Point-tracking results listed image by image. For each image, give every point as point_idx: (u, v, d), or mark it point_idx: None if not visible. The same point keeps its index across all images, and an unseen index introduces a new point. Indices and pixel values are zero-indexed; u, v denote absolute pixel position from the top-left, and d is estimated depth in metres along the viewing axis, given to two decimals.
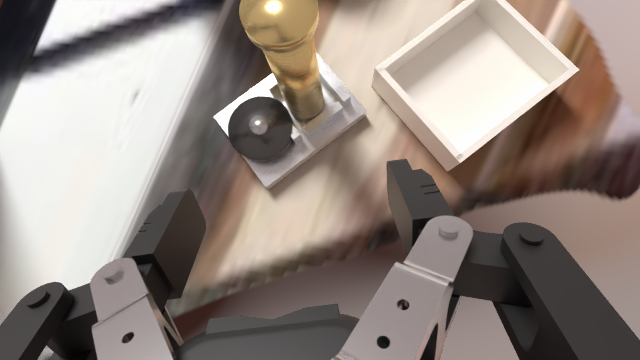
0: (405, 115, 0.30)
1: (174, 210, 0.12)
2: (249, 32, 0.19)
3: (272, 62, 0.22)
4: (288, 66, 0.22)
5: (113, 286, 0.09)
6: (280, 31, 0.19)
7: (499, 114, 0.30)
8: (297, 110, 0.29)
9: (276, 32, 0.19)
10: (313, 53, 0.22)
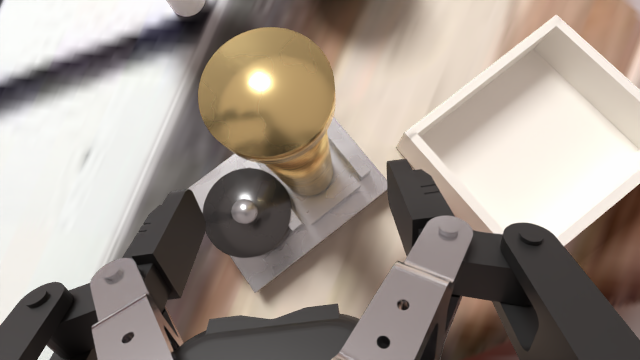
0: (444, 193, 0.22)
1: (174, 210, 0.12)
2: (215, 135, 0.11)
3: None
4: (284, 165, 0.14)
5: (113, 286, 0.09)
6: (270, 135, 0.10)
7: (572, 192, 0.22)
8: (298, 191, 0.21)
9: (262, 136, 0.10)
10: (323, 141, 0.14)
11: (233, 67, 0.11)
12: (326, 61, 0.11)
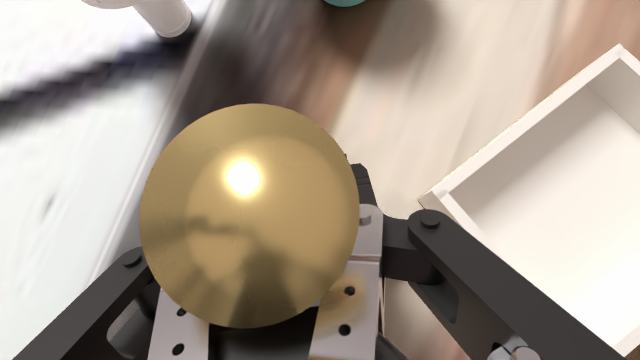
0: None
1: None
2: (164, 285, 0.07)
3: None
4: None
5: None
6: (253, 290, 0.06)
7: (637, 261, 0.18)
8: None
9: (241, 292, 0.06)
10: None
11: (197, 170, 0.07)
12: (346, 163, 0.07)
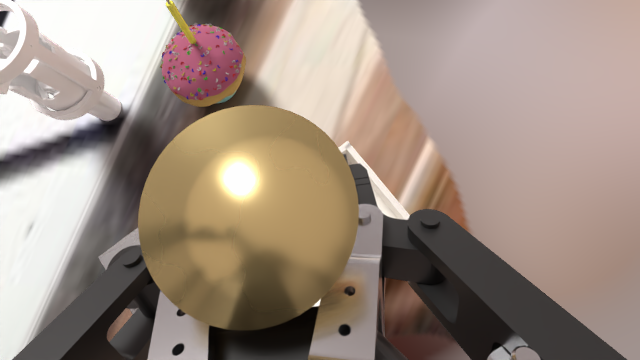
0: None
1: None
2: (163, 287, 0.07)
3: None
4: None
5: None
6: (252, 292, 0.06)
7: None
8: None
9: (239, 294, 0.06)
10: None
11: (196, 171, 0.07)
12: (345, 165, 0.07)
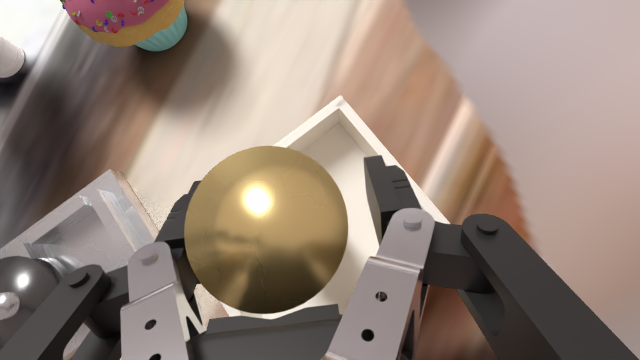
0: None
1: None
2: (203, 282, 0.09)
3: None
4: None
5: (150, 267, 0.09)
6: (269, 286, 0.09)
7: None
8: None
9: (260, 287, 0.09)
10: None
11: (227, 196, 0.09)
12: (339, 193, 0.09)
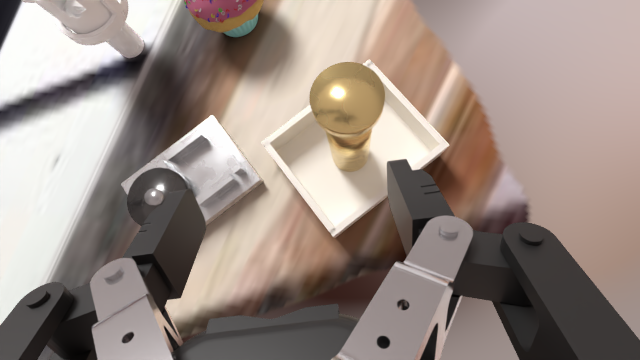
0: None
1: (174, 210, 0.12)
2: (320, 120, 0.20)
3: (333, 137, 0.23)
4: (348, 142, 0.23)
5: (113, 286, 0.09)
6: (350, 120, 0.20)
7: (384, 183, 0.32)
8: (345, 166, 0.30)
9: (346, 121, 0.20)
10: (371, 127, 0.23)
11: (328, 84, 0.20)
12: (380, 81, 0.20)
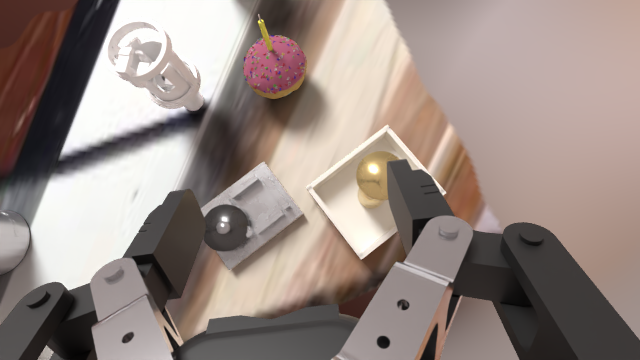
0: (329, 218, 0.42)
1: (174, 210, 0.12)
2: (363, 191, 0.30)
3: None
4: None
5: (113, 286, 0.09)
6: (383, 191, 0.30)
7: None
8: (368, 206, 0.41)
9: (381, 192, 0.30)
10: None
11: (368, 166, 0.30)
12: None
